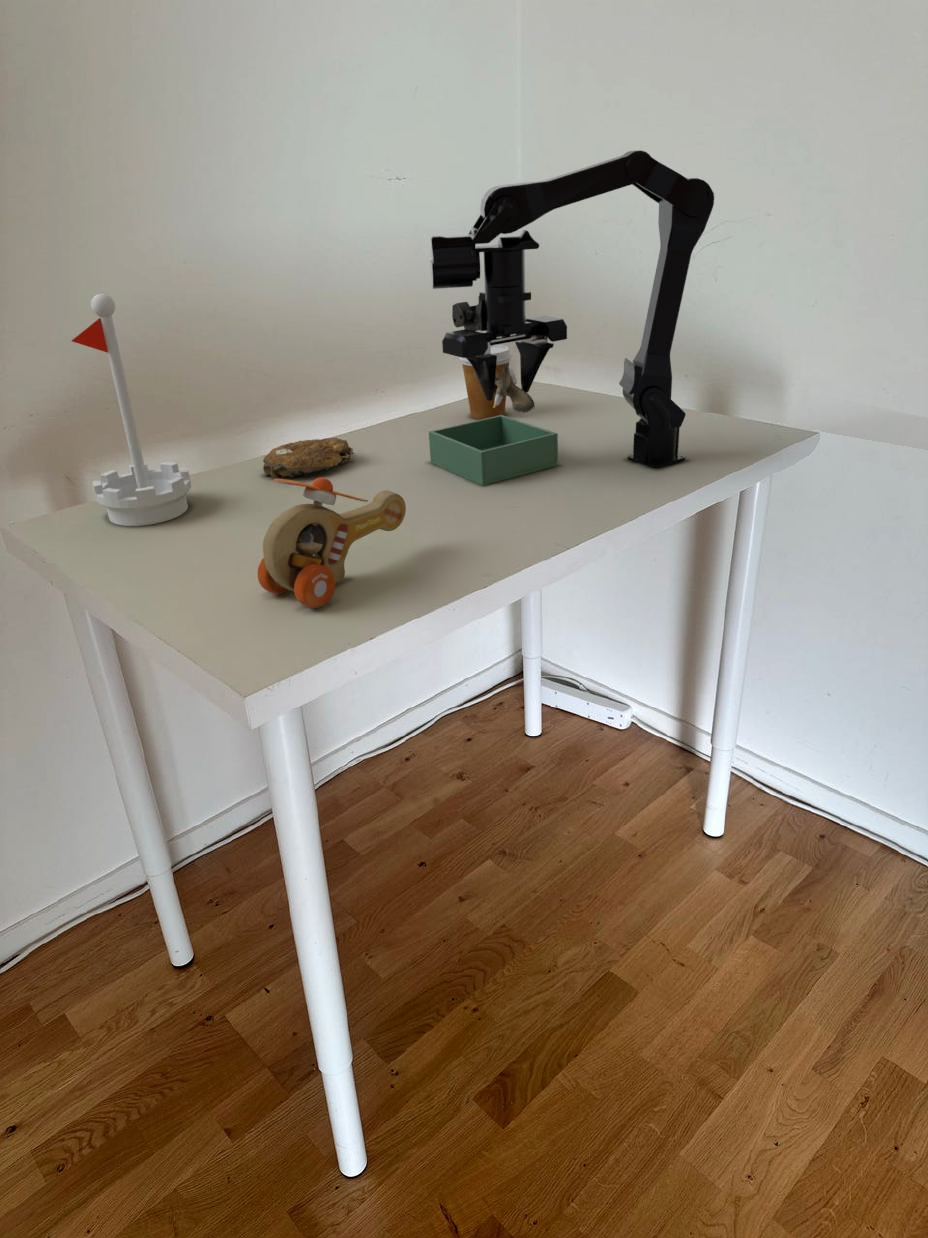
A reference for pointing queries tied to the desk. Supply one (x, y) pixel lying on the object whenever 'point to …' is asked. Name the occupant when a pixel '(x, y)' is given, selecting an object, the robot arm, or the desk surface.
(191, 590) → the desk surface
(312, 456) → the decorative rock
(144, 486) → the flag stand
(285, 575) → the toy helicopter
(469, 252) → the robot arm
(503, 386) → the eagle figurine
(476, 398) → the disposable coffee cup
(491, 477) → the bin
